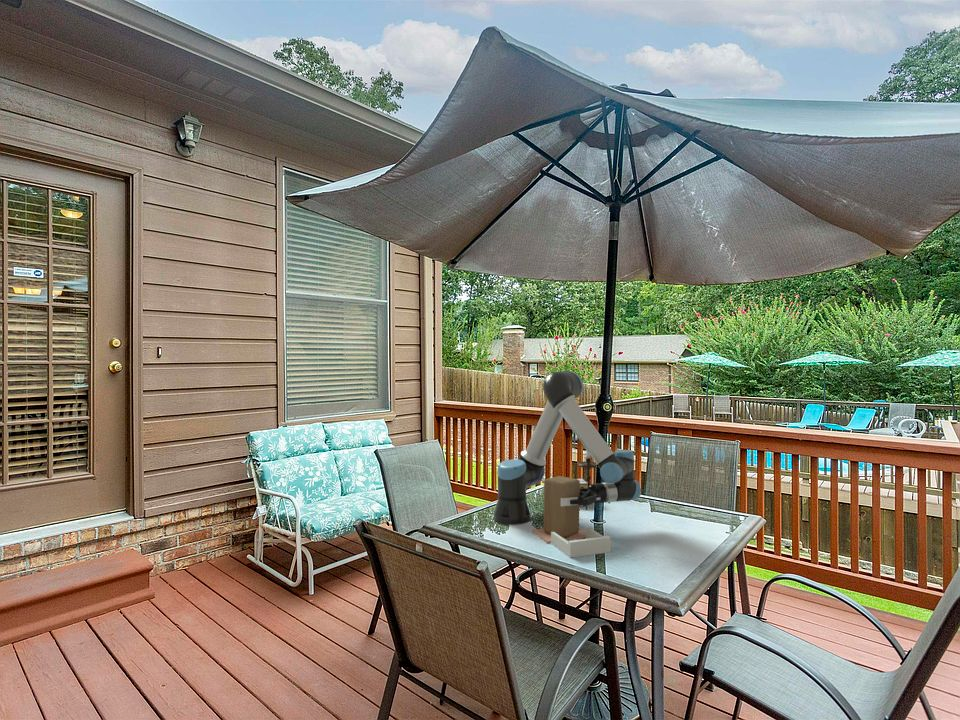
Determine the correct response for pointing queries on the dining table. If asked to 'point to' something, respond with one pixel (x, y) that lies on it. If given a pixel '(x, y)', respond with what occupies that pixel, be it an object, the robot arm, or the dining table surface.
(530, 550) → the dining table surface
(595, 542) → the lane rack
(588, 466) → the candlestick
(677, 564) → the dining table surface
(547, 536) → the terracotta mat
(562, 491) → the wooden block
